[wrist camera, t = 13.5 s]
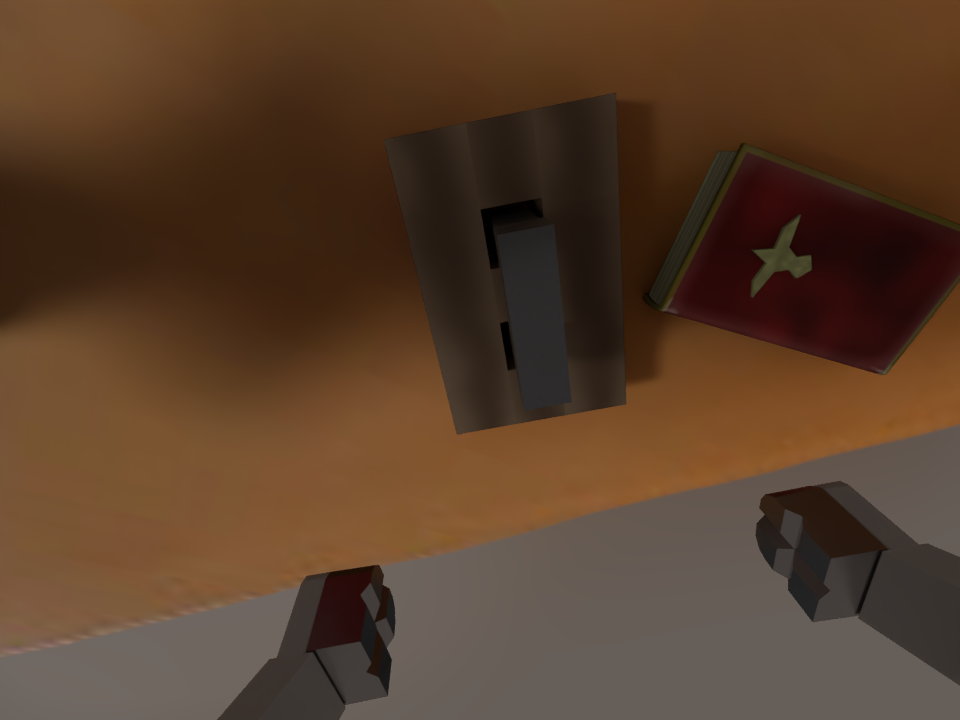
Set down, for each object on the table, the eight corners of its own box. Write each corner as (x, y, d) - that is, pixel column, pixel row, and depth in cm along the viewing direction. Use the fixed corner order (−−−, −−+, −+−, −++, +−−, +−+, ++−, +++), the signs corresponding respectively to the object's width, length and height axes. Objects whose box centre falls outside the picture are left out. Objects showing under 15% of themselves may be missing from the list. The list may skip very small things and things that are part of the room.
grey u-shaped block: (506, 342, 37) (524, 410, 28) (484, 208, 32) (496, 235, 23) (541, 336, 37) (571, 402, 28) (524, 200, 32) (554, 224, 23)
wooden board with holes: (456, 408, 40) (456, 434, 36) (392, 139, 30) (383, 139, 26) (610, 380, 39) (626, 404, 36) (596, 98, 29) (615, 92, 26)
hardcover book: (845, 358, 40) (885, 380, 36) (639, 297, 36) (660, 315, 33) (939, 228, 35) (998, 238, 31) (712, 143, 31) (747, 143, 28)
